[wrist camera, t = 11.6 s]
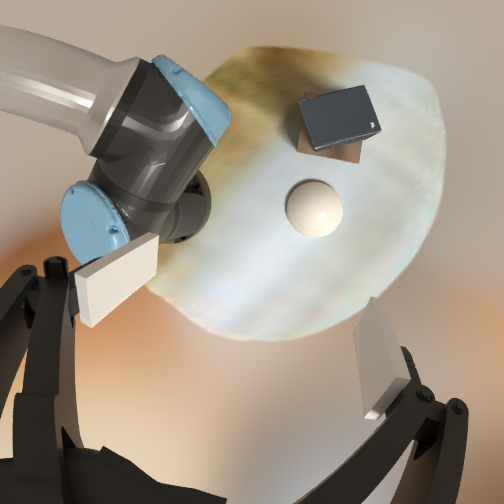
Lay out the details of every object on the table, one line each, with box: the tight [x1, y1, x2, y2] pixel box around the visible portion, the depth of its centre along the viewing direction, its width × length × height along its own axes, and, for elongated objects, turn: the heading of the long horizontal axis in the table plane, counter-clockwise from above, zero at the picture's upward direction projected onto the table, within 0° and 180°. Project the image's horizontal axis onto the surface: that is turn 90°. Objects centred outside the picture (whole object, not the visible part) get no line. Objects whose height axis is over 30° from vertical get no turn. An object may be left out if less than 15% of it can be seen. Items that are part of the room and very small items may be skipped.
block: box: [297, 92, 362, 163], centre depth 37 cm, size 9×9×5 cm
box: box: [298, 85, 381, 152], centre depth 29 cm, size 8×6×11 cm
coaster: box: [287, 182, 343, 238], centre depth 43 cm, size 9×9×1 cm
